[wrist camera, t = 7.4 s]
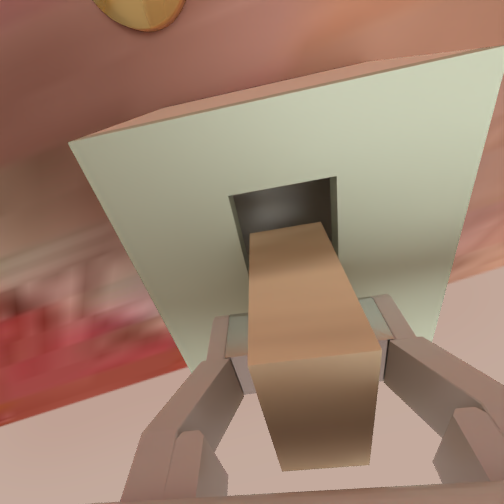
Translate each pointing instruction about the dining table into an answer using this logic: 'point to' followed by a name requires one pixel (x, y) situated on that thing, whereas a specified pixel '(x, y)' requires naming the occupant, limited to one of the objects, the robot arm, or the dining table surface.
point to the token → (310, 351)
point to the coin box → (301, 183)
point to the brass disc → (142, 12)
